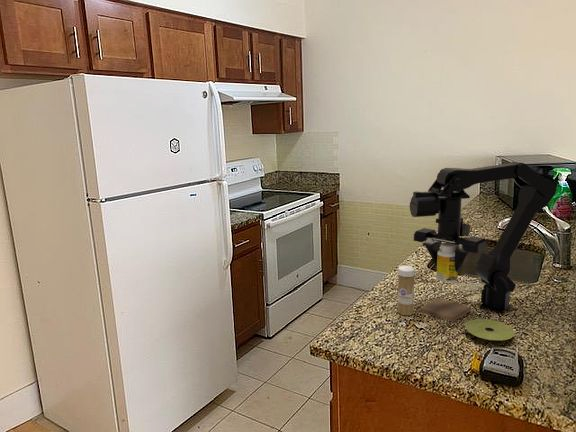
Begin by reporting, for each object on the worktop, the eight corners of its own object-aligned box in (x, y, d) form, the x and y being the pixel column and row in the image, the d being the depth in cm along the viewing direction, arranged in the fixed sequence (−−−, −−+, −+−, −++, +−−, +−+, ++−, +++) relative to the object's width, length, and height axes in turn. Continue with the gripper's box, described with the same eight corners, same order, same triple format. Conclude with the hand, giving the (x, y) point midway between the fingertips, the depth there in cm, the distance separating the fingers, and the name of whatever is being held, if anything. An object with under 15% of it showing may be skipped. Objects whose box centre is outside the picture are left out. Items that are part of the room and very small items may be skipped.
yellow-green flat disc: (498, 352, 100) (499, 344, 100) (455, 334, 109) (456, 327, 109) (522, 337, 107) (523, 330, 106) (480, 321, 116) (480, 314, 115)
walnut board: (470, 310, 122) (470, 307, 122) (453, 321, 116) (453, 318, 116) (438, 300, 130) (438, 297, 130) (420, 310, 123) (420, 307, 123)
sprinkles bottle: (396, 314, 121) (397, 269, 119) (398, 308, 126) (399, 264, 123) (412, 317, 120) (414, 271, 117) (414, 310, 124) (415, 265, 121)
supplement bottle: (448, 284, 117) (450, 248, 115) (432, 279, 122) (433, 244, 119) (461, 280, 120) (463, 244, 118) (444, 274, 125) (446, 240, 122)
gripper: (497, 214, 115) (493, 269, 119) (433, 206, 129) (432, 255, 132) (478, 221, 108) (475, 280, 111) (413, 212, 122) (411, 264, 125)
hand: (447, 269), depth 120 cm, fingers closed on supplement bottle, 5 cm apart
